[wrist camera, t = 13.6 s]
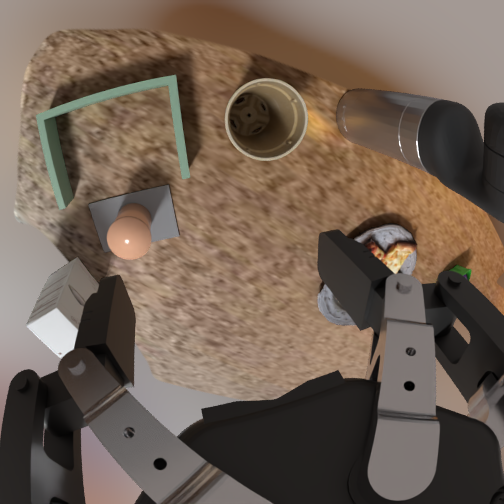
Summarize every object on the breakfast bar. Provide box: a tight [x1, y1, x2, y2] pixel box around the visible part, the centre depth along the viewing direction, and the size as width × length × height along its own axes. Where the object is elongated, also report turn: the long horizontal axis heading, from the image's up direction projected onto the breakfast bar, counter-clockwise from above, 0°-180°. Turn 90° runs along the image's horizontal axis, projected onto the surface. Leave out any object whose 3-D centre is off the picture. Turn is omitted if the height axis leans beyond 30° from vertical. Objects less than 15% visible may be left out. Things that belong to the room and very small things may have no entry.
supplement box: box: [26, 257, 99, 358], centre depth 36 cm, size 7×7×13 cm
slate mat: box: [89, 185, 179, 253], centre depth 39 cm, size 12×8×1 cm, turn 95°
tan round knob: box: [107, 203, 152, 260], centre depth 37 cm, size 6×6×6 cm
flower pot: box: [225, 78, 308, 161], centre depth 33 cm, size 9×9×9 cm
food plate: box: [318, 223, 417, 326], centre depth 57 cm, size 25×23×4 cm
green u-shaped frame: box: [36, 75, 190, 210], centre depth 31 cm, size 18×13×4 cm
